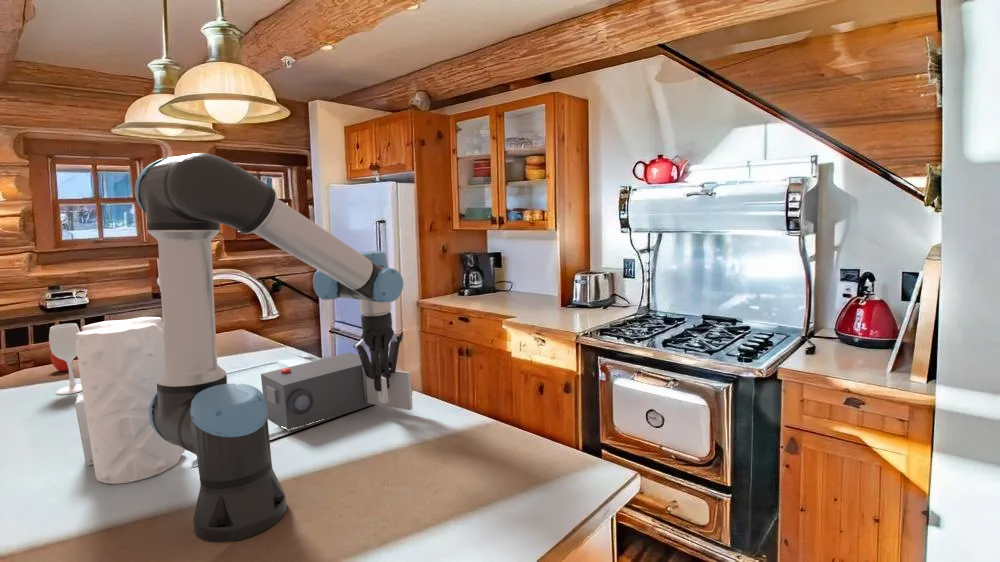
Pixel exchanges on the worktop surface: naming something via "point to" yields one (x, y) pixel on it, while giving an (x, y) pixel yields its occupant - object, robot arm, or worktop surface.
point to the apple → (59, 363)
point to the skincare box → (84, 429)
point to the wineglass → (65, 351)
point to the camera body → (314, 390)
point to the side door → (391, 390)
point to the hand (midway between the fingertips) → (383, 401)
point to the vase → (123, 398)
